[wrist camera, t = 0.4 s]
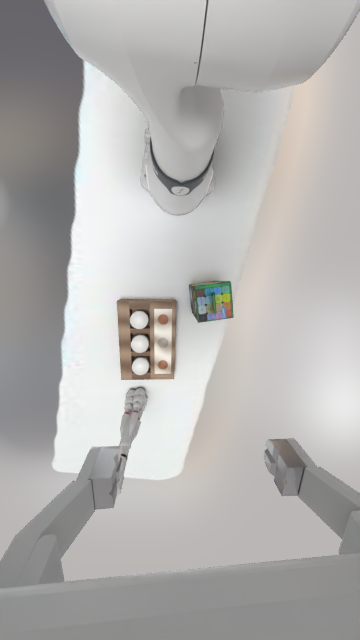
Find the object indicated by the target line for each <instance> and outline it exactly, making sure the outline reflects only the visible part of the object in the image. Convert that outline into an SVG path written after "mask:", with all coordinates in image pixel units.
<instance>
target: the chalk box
mask: <svg viewBox="0 0 360 640" xmlns="http://www.w3.org/2000/svg"><path fill="white" fill-rule="evenodd" d="M189 290H190V299H191V308H192V313H193V315H194V316H195V318H196V319H197V321H198V322H206V321H213V320H220V319H227V318H233V303H232V292H231V282H230V281H213V282H205V283H198V284H191V285H189Z"/></svg>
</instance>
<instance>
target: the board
mask: <svg viewBox="0 0 360 640" xmlns="http://www.w3.org/2000/svg"><path fill="white" fill-rule="evenodd" d="M137 310H143V311H145V312H146V313H147V314H148V316H149V321H148V323H147V325H146V327H144V328H143V329H136V328H134V327H133V326H132V325H131V323H130V317H131V315H132V314H133V313H134V312H135V311H137ZM117 311H118V329H119V346H120V364H121V380H144V379H174V365H175V321H176V301H175V300H144V299H120V300H118V301H117ZM140 333H142V334H145V335H147V336H148V338H149V345H148V348H147V350H146V351H145V352H142V353H137V352H135V351H134V350H133V349H132V348H131V342H132V340H133V338H134V336H135V335H137V334H140ZM137 356H146V357H147V358H148V359H149V362H150V364H149V369H148V371H147V373H145V374H143V375H137V374H135V373H134V372H133V371H132V364H133V362H134V359H135V358H136V357H137Z"/></svg>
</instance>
